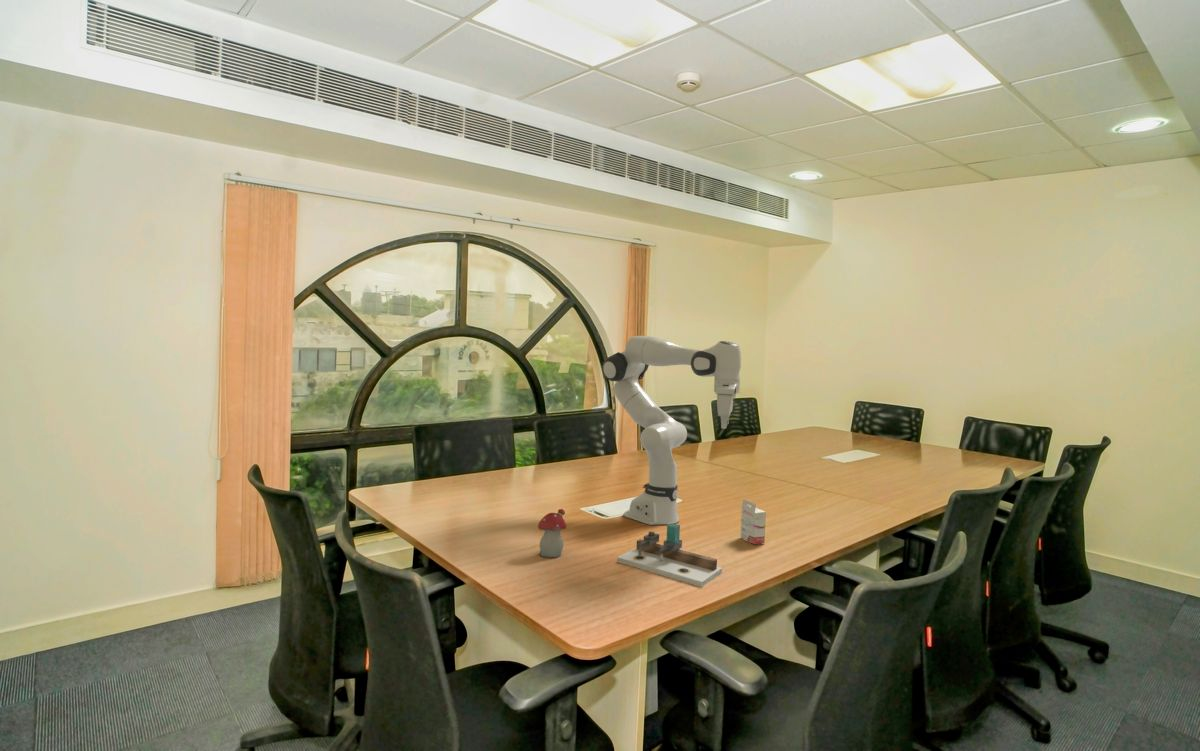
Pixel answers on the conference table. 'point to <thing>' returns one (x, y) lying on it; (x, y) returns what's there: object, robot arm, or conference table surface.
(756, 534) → the ink cartridge box
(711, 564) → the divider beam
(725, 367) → the robot arm
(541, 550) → the decorative ornament
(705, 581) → the bolt plate
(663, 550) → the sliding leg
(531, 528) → the conference table surface
